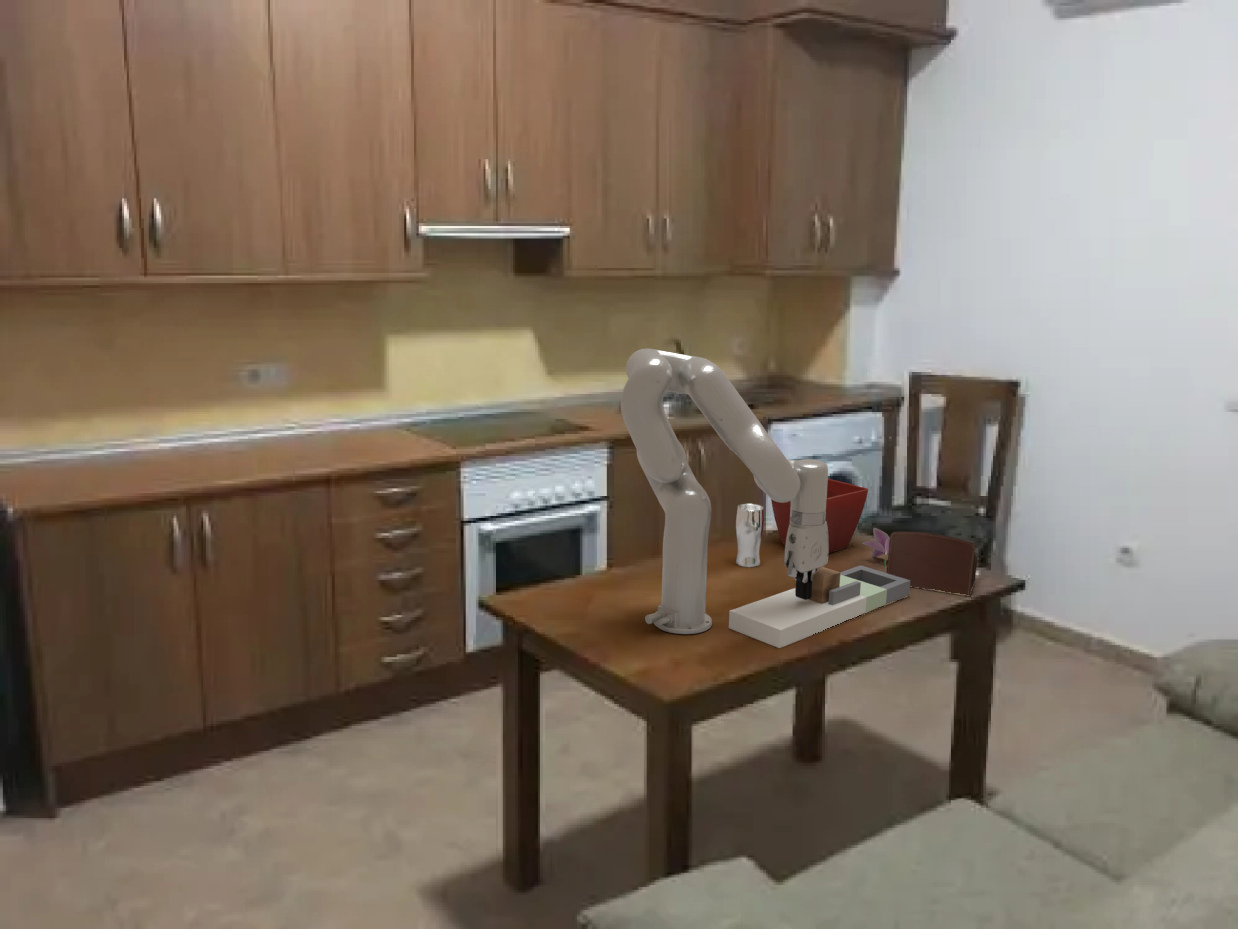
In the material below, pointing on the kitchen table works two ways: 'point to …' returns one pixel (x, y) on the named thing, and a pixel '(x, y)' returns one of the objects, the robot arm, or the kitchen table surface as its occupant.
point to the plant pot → (831, 513)
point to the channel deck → (817, 607)
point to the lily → (879, 543)
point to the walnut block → (824, 584)
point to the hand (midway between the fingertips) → (803, 597)
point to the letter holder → (933, 561)
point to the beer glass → (749, 534)
